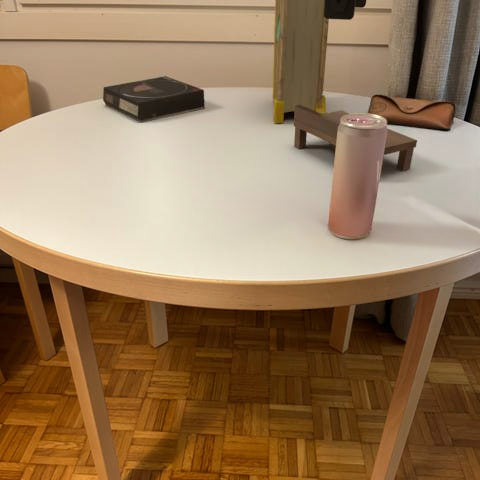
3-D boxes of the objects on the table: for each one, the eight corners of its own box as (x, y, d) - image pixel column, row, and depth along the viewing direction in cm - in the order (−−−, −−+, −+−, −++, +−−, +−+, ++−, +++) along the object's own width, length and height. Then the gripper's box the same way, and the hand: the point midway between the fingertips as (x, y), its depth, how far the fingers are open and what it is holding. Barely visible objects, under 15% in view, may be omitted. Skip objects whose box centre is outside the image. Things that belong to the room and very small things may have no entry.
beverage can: (333, 218, 76) (344, 110, 67) (374, 224, 74) (392, 115, 65) (322, 236, 72) (333, 124, 63) (366, 244, 70) (384, 129, 61)
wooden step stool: (338, 136, 104) (342, 97, 100) (411, 169, 91) (420, 125, 86) (292, 146, 100) (294, 105, 96) (362, 182, 86) (368, 136, 82)
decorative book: (271, 98, 126) (275, -56, 108) (317, 99, 126) (329, -56, 107) (272, 125, 110) (277, -50, 92) (325, 125, 110) (341, -51, 92)
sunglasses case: (361, 120, 111) (368, 87, 110) (364, 128, 117) (371, 98, 117) (451, 129, 106) (459, 95, 105) (449, 138, 112) (456, 106, 111)
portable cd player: (103, 105, 123) (101, 87, 120) (167, 93, 131) (165, 76, 128) (138, 123, 112) (135, 103, 110) (204, 108, 120) (203, 89, 118)
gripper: (398, -211, 43) (369, 25, 54) (412, -182, 56) (386, 4, 67) (308, -205, 45) (297, 22, 56) (341, -178, 58) (327, 2, 69)
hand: (345, 12), depth 61 cm, fingers open, 9 cm apart
